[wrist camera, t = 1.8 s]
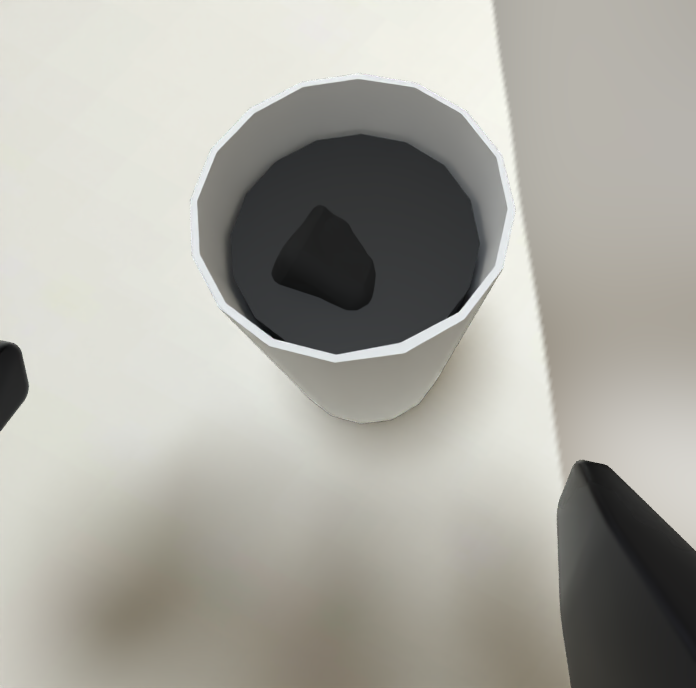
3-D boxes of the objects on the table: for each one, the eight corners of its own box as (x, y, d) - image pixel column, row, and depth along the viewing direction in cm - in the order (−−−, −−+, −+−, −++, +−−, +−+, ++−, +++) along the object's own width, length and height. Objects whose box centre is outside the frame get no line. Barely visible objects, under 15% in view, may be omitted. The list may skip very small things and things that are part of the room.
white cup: (408, 468, 19) (430, 423, 10) (248, 387, 20) (125, 277, 11) (482, 309, 21) (564, 134, 11) (329, 243, 22) (284, 36, 12)
